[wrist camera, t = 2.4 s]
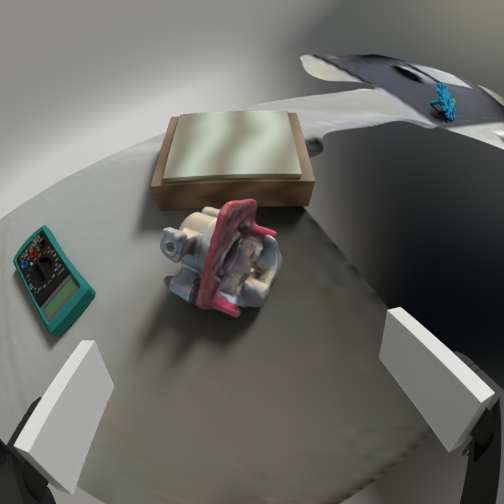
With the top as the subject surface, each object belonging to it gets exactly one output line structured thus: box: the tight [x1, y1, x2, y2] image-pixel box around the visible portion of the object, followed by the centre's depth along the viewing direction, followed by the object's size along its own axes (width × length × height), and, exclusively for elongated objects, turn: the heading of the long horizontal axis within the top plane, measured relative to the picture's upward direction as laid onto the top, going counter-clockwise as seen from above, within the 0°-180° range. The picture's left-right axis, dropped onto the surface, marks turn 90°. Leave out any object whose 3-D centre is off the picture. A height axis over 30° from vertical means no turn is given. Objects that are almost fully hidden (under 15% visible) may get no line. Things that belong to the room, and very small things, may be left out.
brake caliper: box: [160, 199, 282, 318], centre depth 25 cm, size 11×11×12 cm
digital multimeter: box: [13, 225, 95, 336], centre depth 27 cm, size 7×15×3 cm, turn 52°
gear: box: [431, 82, 456, 120], centre depth 48 cm, size 11×6×10 cm
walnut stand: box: [151, 111, 315, 211], centre depth 34 cm, size 18×14×5 cm
